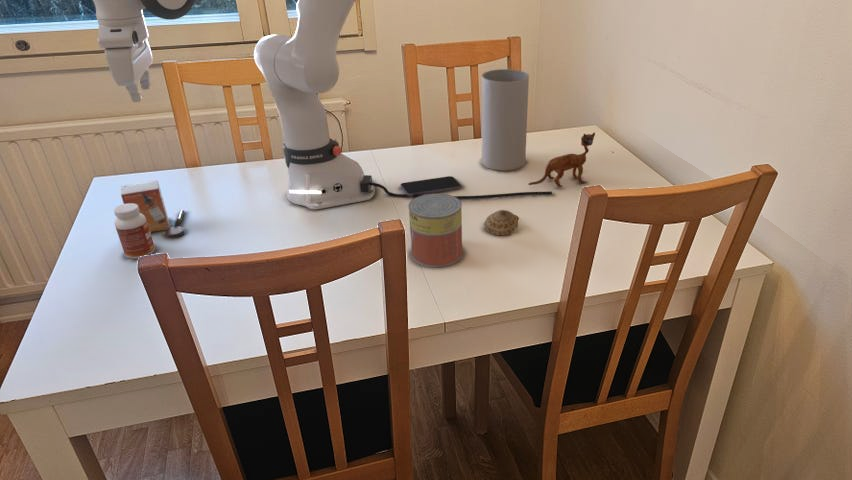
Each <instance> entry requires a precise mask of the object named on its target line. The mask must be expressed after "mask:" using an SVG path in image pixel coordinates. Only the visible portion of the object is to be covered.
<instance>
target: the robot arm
mask: <svg viewBox="0 0 852 480" xmlns="http://www.w3.org/2000/svg"><path fill="white" fill-rule="evenodd" d="M92 2H93V3H94V6H95V16H96V17H95V18H96V20H97V24H98V30H99V31H98V36H97V42H98V46H99V48H100V49H104V56H105V60H106V62H107V65H108V69H109V71H110V73H111V76H112V79H113V81H114V83H115V84H116V85H117V86H118V87H125V88H126V90H127V92H128V94H129V95H130V98H131V101H132V102H133V103H140V102H141V101H142V100H143V95H142V93H141V91H140V90H139V87H138V82H139V84H140V88H141V90H145V91H146V90H150V88H152V85H151V81H150V80H151V79H150V70H149V69H150V68H149V67H150V66H151V65H152V64H153V62H154V61H153V54H152V50H151V47H150V44H149V41H148V38H149V31H148V28H147V24H146V21H145V16H144V12H143V10H145V9H146V10H147V11H148V12H149V13H150V14H152V15H153V16H155V17H157V18H159V19H162V20H170V21H171V20H172V21H173V20H176V19H180V18H183V17H185V16H186V15H187V14H188V13H189V12H190V11H191V9H192V8H193V6H194V4H195V2H196V0H92ZM355 2H356V0H297V2H296V7H295V9H296V12H297V15H298V16H297V17H298V19H297V26H296V30H295V32H294V35H293V36H289V35H286V34H280V33H278V34H270V35H265V36H263V37H262V38H260V39H259V41H257V43H256V45H255V46H254V50H253V58H254V59H253V60H254V64H255V65H256V67H257V68H258V70H259V71H260V73H261V74H262V76H263V78H264V80H265V82H266V84H267V87H268V89H269V91H270V94H271V97H272V99H273V102H274V105H275V107H276V110H277V113H278V116H279V121H280V122H279V123H280V127H281V131H282V137H283V148H282V151H283V157H284V158H283V159H284V162H285V165H286V167H287V191H286V199H287V200H288V201H289V202H291V203H292V204H295V205H298V206H302V207H306V208H308V209H310V210H315V211H316V210H321V209H327V208H333V207H337V206H343V205H349V204H354V203H359V202H365V201H370V200H371V199H372V198H373V197H374V196H375V194H376V187H377V188H379V189H382V190H383V191H384V193H385V194H386V195H389V196H391V197H398V198H410V197H412V198H413V197H414V198H416V197H418V196H421V195H425V194H414V195H413V196H408V195H407V194H406V193H399V194H398V193H393V192H391V191H389V190H388V189H387V187H385V185H383V184H380V183H376V182H374V181H373V176H372V175H371V174H368V175H367V174H365V173H364V170H363V168H362V166H361V165H360V163H358V161H356V160H354V159H353V158H351V157H348V156H347V155H345V154H343V153H342V147H341V146H340V145H339V142H338V140H337V138H334V139H333V138H330V130H329V124H328V122H329V121H328V116H327V110H326V108H325V106H324V104H323V103H322V101H321V100H320V98H319V96H318V95H317V94H326V93H328V92H329V91H331V90H332V89H333V88H334V87H335V86H336V84H337V82H338V79H339V76H340V66H339V63H338V60H337V49H338V44H339V43H338V42H339V38H340V34H341V32H342V29H343V27H344V25H345V23H346V20H347V18H348V17H349V14H350V13H351V10H352V9H353V6H354V4H355ZM540 195H542V196H543V195H553V191H523V192H521V191H520V192H510V193H508V192H507V193H495V194H482V195H453V196H454V197H456V198H458V199H459V200H474V199H475V200H476V199H492V198H504V197H506V198H507V197H517V196H518V197H519V196H540Z"/></svg>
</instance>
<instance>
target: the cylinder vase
mask: <svg viewBox="0 0 852 480" xmlns="http://www.w3.org/2000/svg"><path fill="white" fill-rule="evenodd" d="M529 81H530V74H528V73H527V72H525V71H522V70H517V69H509V68H508V69H507V68H503V69H502V68H501V69H500V68H498V69H492V70H491V69H490V70H487V71H485V72H483V73H482V75H481V163H482V164H483V166H484V167H486V168H488V169H490V170H493V171H500V172H507V171H515V170H518V169H520V168H522V167H523V166H524V165H525V164H526V157H527V154H526V153H527V132H528V106H529V104H528V103H529V83H530V82H529Z"/></svg>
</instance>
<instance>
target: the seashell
mask: <svg viewBox="0 0 852 480" xmlns="http://www.w3.org/2000/svg"><path fill="white" fill-rule="evenodd" d="M519 220H520V217H519V216H518V215H516V214H515V213H513V212H512V211H509V210H507V209H500V210H497V211H495V212H493V213H490V214H489V215H488V216H486V218H485V220H484V224H483V227H484V229H485V231H486V232H488V233H489V234H491V235H494V236H506V235H509V234H512V233H514V232H515V231H516V230H517V229H518V228H519Z"/></svg>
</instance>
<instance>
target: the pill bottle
mask: <svg viewBox="0 0 852 480" xmlns="http://www.w3.org/2000/svg"><path fill="white" fill-rule="evenodd" d="M113 212H114V216H115V220H114V227H115V230H116V233H117V236H118V239H119V242H120V246H121V248H122V251H123V254H124V256H125V257H126V258H128V259H132V260H139V259H140V258H139V257H140V256H144V255H149V254H150V255H152V254H153V253H154V252H155V250H156V246H155V242H154V240H153V237H152V232H150V229H149V226H148V223H147V220H146V217H145V216H144V215H143V214H141V213H139V212H140V210H139V207H138V205H137V204H134V203H128V204H124V203H123V204H120V205H118V206H116V207H115V208H114V209H113ZM150 255H149V256H150ZM138 258H139V259H138Z"/></svg>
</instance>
